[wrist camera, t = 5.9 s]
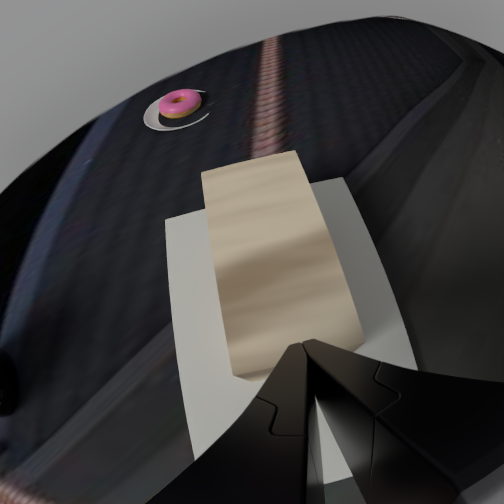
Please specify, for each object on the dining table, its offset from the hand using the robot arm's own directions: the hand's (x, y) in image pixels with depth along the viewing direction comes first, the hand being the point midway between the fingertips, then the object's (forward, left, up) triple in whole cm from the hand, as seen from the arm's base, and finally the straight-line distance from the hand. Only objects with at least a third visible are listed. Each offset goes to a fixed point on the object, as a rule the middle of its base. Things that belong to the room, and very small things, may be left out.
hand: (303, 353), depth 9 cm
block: (0, 0, -5) cm, 5 cm away
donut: (+27, -9, -9) cm, 30 cm away
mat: (+2, -1, -9) cm, 9 cm away
